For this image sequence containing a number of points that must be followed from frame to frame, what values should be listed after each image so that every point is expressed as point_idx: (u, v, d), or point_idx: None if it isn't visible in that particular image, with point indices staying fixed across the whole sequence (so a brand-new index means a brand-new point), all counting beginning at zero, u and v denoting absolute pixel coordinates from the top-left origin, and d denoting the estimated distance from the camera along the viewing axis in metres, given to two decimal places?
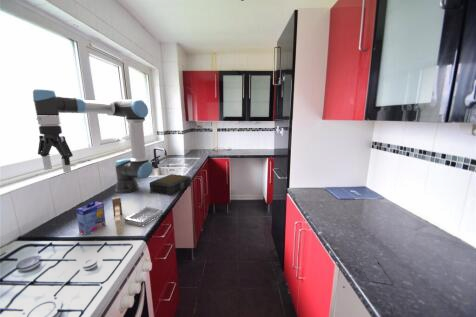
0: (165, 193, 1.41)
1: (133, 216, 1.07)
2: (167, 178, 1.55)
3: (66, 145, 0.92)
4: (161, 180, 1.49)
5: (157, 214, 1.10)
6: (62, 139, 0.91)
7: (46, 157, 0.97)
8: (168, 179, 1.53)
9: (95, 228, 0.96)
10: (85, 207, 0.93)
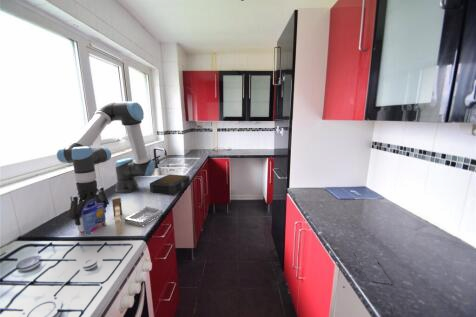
0: (167, 193, 1.41)
1: (133, 216, 1.07)
2: (167, 178, 1.54)
3: (73, 207, 0.88)
4: (161, 181, 1.48)
5: (157, 214, 1.10)
6: (72, 200, 0.88)
7: None
8: (168, 179, 1.52)
9: (95, 228, 0.96)
10: (85, 207, 0.93)
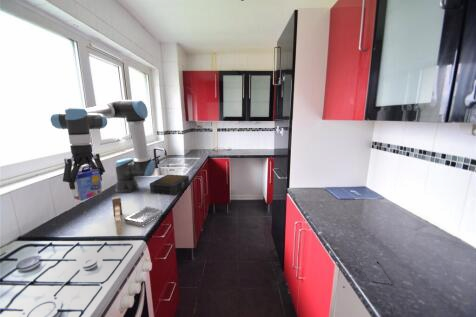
0: (168, 193, 1.41)
1: (133, 216, 1.07)
2: (166, 178, 1.54)
3: (67, 169, 0.84)
4: (161, 181, 1.48)
5: (157, 214, 1.10)
6: (66, 162, 0.85)
7: None
8: (168, 179, 1.52)
9: (90, 194, 0.93)
10: (80, 172, 0.90)
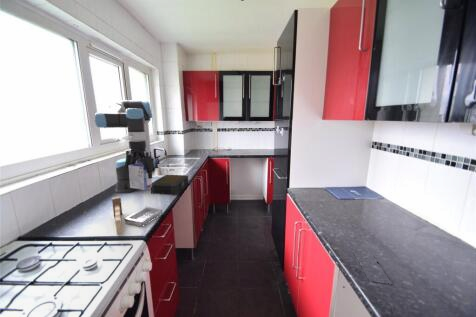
0: (169, 193, 1.41)
1: (133, 216, 1.07)
2: (166, 178, 1.54)
3: (151, 160, 1.01)
4: (161, 181, 1.48)
5: (157, 214, 1.10)
6: (149, 154, 1.00)
7: None
8: (167, 179, 1.52)
9: None
10: (142, 165, 1.02)
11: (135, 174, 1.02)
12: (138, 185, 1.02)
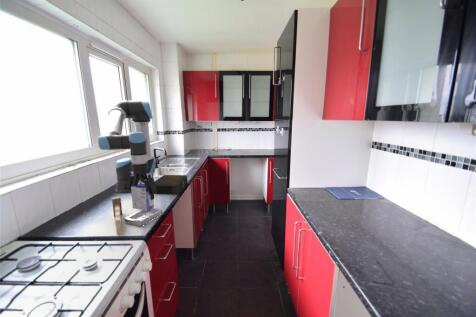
0: (170, 193, 1.42)
1: (133, 216, 1.07)
2: (166, 178, 1.54)
3: (153, 182, 1.03)
4: (161, 181, 1.47)
5: (157, 214, 1.10)
6: (151, 177, 1.02)
7: None
8: (167, 179, 1.52)
9: None
10: (145, 186, 1.04)
11: (137, 195, 1.04)
12: (141, 206, 1.04)
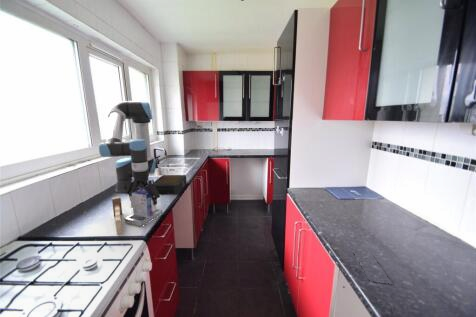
0: (171, 193, 1.42)
1: (133, 216, 1.07)
2: (165, 179, 1.53)
3: (155, 187, 1.03)
4: (162, 181, 1.47)
5: (157, 214, 1.10)
6: (152, 182, 1.03)
7: None
8: (167, 179, 1.52)
9: None
10: (145, 192, 1.05)
11: (138, 201, 1.05)
12: (141, 212, 1.05)
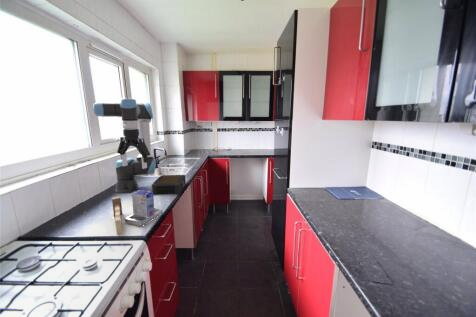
0: (172, 192, 1.42)
1: (133, 216, 1.07)
2: (165, 179, 1.53)
3: (145, 145, 1.09)
4: (162, 181, 1.47)
5: (157, 214, 1.10)
6: (142, 140, 1.08)
7: (124, 155, 1.14)
8: (167, 179, 1.52)
9: None
10: (145, 192, 1.05)
11: (138, 201, 1.05)
12: (141, 212, 1.05)
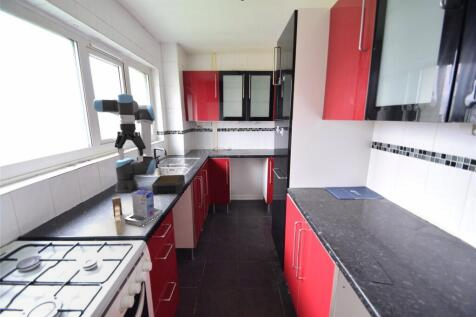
0: (173, 192, 1.43)
1: (133, 216, 1.07)
2: (164, 179, 1.53)
3: (141, 139, 1.12)
4: (162, 181, 1.46)
5: (157, 214, 1.10)
6: (138, 134, 1.11)
7: (121, 149, 1.17)
8: (167, 179, 1.52)
9: None
10: (145, 192, 1.05)
11: (138, 201, 1.05)
12: (141, 212, 1.05)
